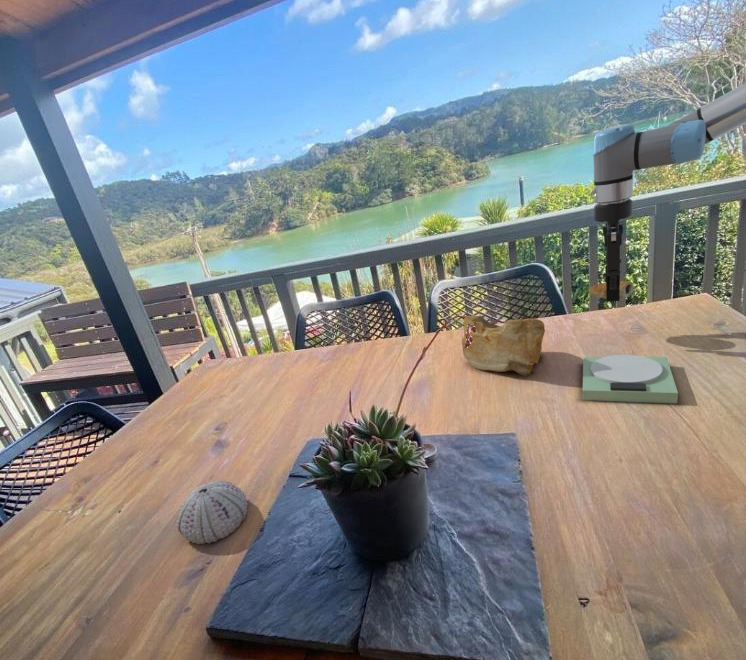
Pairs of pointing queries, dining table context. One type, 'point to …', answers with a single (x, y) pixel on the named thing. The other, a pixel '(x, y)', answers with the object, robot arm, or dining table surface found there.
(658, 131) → the robot arm
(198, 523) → the sea urchin shell
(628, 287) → the pastry
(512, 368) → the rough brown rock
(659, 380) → the scale
